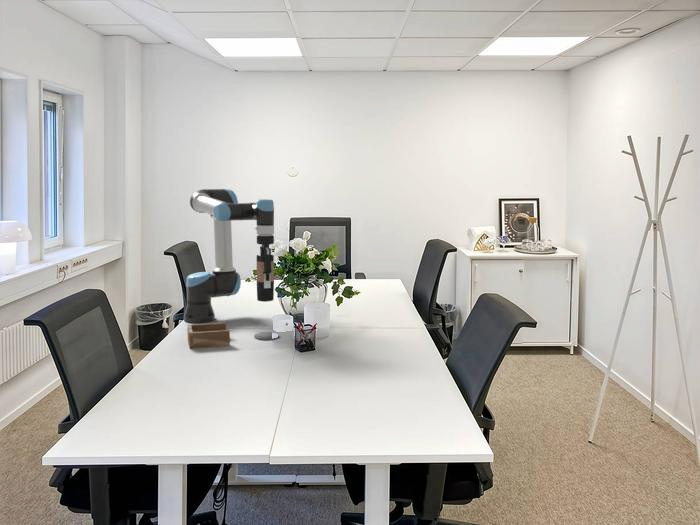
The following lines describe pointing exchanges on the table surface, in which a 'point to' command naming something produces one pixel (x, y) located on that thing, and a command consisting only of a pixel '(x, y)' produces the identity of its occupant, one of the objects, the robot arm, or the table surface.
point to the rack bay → (208, 335)
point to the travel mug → (262, 292)
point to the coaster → (263, 336)
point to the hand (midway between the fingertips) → (265, 286)
